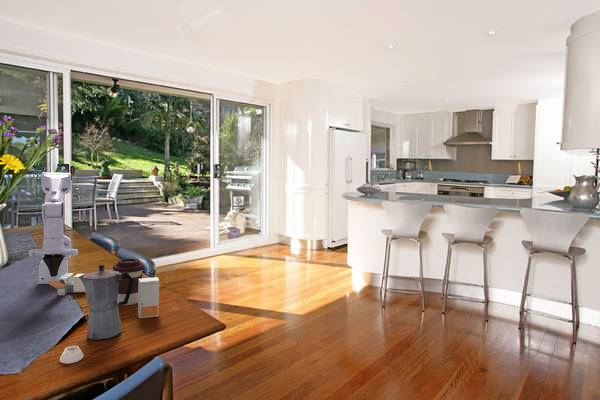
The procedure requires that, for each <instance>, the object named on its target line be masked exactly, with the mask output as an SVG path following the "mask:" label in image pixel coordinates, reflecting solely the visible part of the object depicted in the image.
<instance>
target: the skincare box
mask: <svg viewBox="0 0 600 400" xmlns="http://www.w3.org/2000/svg"><path fill="white" fill-rule="evenodd" d="M160 281H161V280H160V278H159V277H158V276H155V277H144V278H143V277H142V279H139V285H138V303H137V316H138V319H146V318H154V317H156V318H157V317H159V309H160V305H159V304H160Z"/></svg>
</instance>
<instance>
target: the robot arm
mask: <svg viewBox="0 0 600 400" xmlns="http://www.w3.org/2000/svg"><path fill="white" fill-rule="evenodd" d="M40 183H41V185H40V186H41V189H42V191H43V193H45V195H44V203H42V204H41V217H42V224H43V241H42V247H41V248H31V249H29V250H28V257H31V256H32V257H34V256H41V257H42V260H41V261H40V262H39V265H38V282H37V284H38V285H47V284H48V281H58V279H59V278H60V277H62V276H63V275H65V274H66V273H69V262H68V261H69V258H71V257H72V256H73V257H74V256H75V257H76V256H78V255H79V249H77V248H72V239H71V238H70V237H68V236H67V235H65V234H64V218H65V217H66V205H65V196H66V195H67V194H69V193H71V189H72V173H70V172H50V171H49V172H48V171H47V172H46V171H43V172H41V175H40Z"/></svg>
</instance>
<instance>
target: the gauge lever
mask: <svg viewBox="0 0 600 400" xmlns="http://www.w3.org/2000/svg"><path fill="white" fill-rule="evenodd" d="M48 284H49V286H51V287H53V288H54V289H55V290H58V289H65V288H66V285H64V284H62V283H60V282H59V281H48Z"/></svg>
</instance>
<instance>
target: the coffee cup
mask: <svg viewBox="0 0 600 400" xmlns="http://www.w3.org/2000/svg"><path fill="white" fill-rule="evenodd" d="M144 269H145V263H143V262H141V261H140V259H138V258H130V257H129V258H123V259H119V260H118V261H117V263H114V264H113V265H112V271H117V272H119V273H124V272H128V274H129V275H130V276H131V277H132V278H133V280H134V284H133V287H132V290H131V293H130V296H129V299H128V303H127V304H125V305H124V306H133V305H136V304H138V285H139V279H142V278H143V271H144ZM128 284H129V280H128V279H123V280H119V284H118V297H117V305H119V302H123V301H124V299H125V297H126V291H127V288H128Z"/></svg>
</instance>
